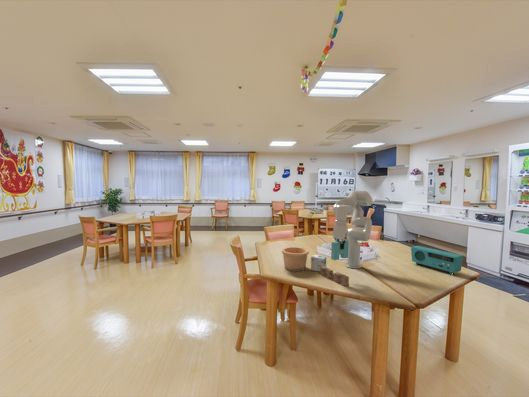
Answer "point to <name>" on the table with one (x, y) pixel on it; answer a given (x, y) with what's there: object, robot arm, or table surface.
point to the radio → (437, 258)
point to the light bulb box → (317, 262)
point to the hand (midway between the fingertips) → (340, 248)
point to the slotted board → (334, 276)
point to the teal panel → (339, 250)
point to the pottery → (295, 258)
